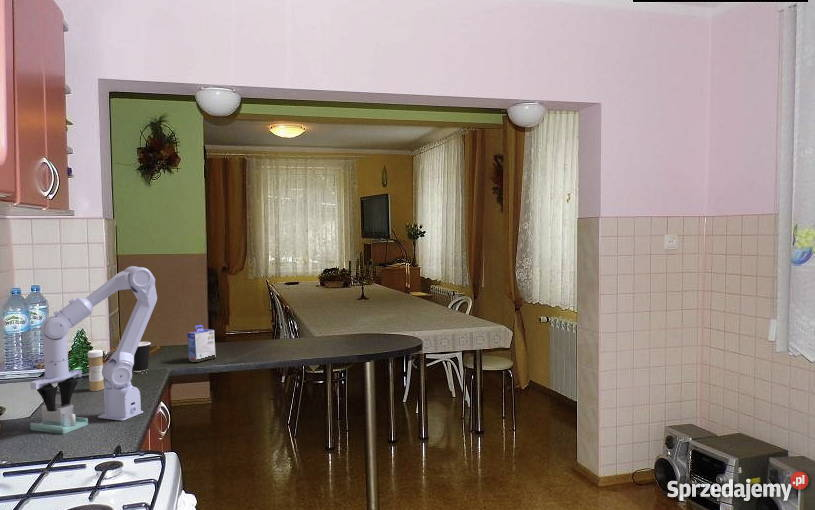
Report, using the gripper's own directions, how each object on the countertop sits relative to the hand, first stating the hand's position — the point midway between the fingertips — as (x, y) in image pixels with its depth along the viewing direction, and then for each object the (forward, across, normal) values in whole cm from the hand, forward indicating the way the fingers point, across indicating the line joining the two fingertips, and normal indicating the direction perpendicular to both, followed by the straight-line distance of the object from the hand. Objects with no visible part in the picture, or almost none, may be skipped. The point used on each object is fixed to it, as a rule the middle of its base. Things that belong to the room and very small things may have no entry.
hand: (58, 408), depth 168 cm
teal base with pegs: (+5, 0, 0) cm, 5 cm away
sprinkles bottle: (+5, -33, -22) cm, 40 cm away
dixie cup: (+5, -57, -26) cm, 63 cm away
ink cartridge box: (+5, -80, -16) cm, 82 cm away
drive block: (+4, 0, 0) cm, 4 cm away
